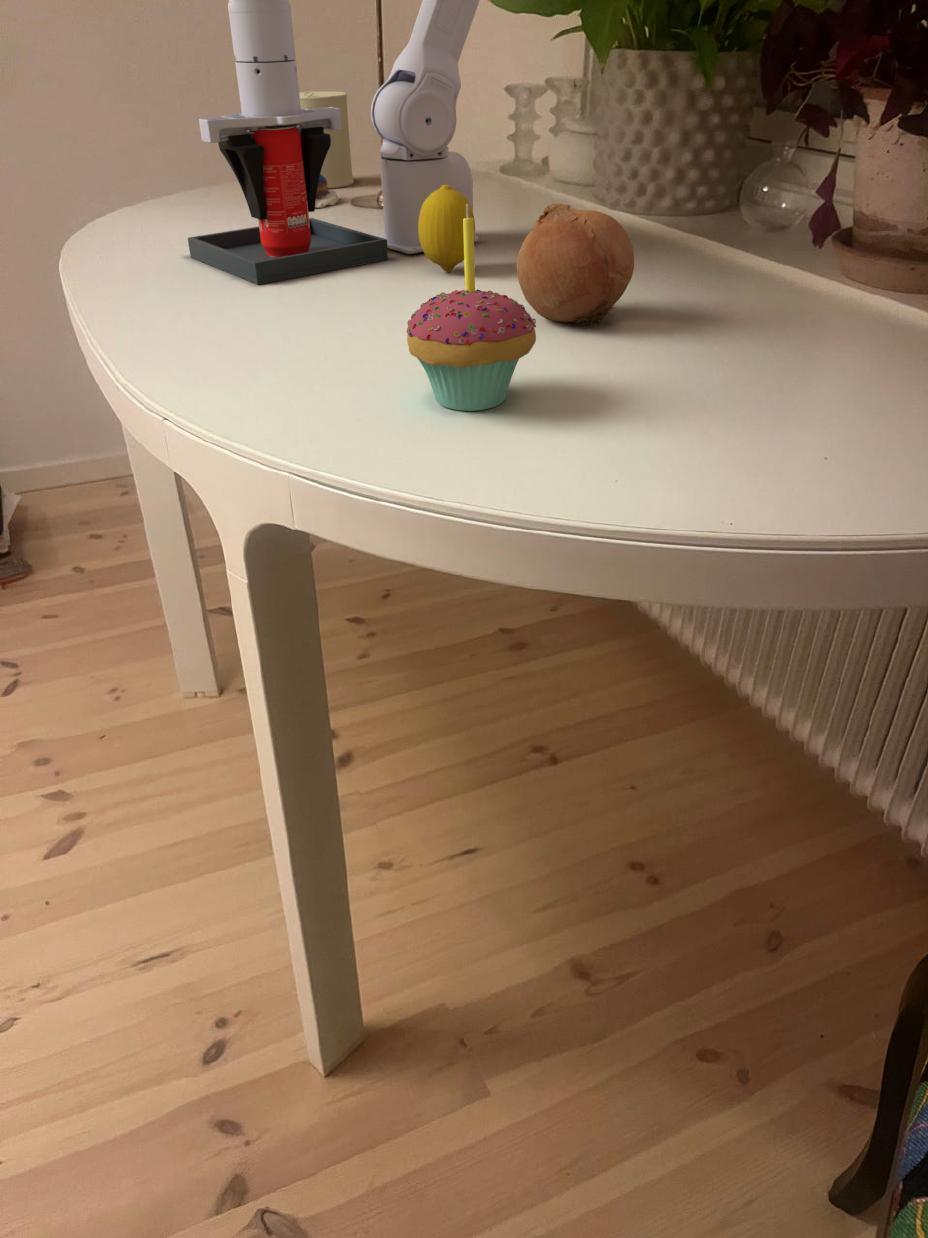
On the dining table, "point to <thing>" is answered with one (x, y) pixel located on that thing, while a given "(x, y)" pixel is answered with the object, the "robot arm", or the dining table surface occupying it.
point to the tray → (251, 262)
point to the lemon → (444, 227)
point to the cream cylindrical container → (333, 138)
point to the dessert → (325, 194)
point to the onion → (574, 264)
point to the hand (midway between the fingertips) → (283, 214)
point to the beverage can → (283, 192)
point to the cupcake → (470, 340)
